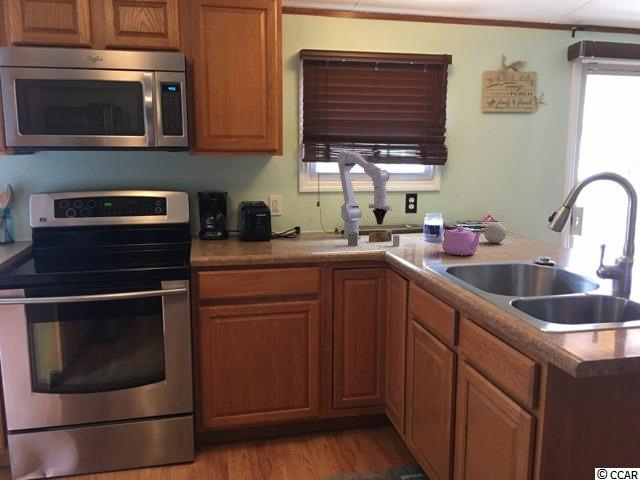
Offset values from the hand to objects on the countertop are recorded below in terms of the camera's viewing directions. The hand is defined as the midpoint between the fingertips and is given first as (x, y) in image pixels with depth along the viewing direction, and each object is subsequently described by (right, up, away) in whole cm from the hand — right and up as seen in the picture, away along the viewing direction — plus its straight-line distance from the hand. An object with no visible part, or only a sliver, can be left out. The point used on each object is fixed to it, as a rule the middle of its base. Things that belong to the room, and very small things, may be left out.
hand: (379, 224), depth 244 cm
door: (+1, -8, +7) cm, 11 cm away
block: (-13, -10, -2) cm, 17 cm away
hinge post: (+6, -8, +10) cm, 14 cm away
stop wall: (+7, -10, -4) cm, 13 cm away
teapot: (+32, -14, -24) cm, 43 cm away
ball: (+55, -9, 0) cm, 56 cm away
